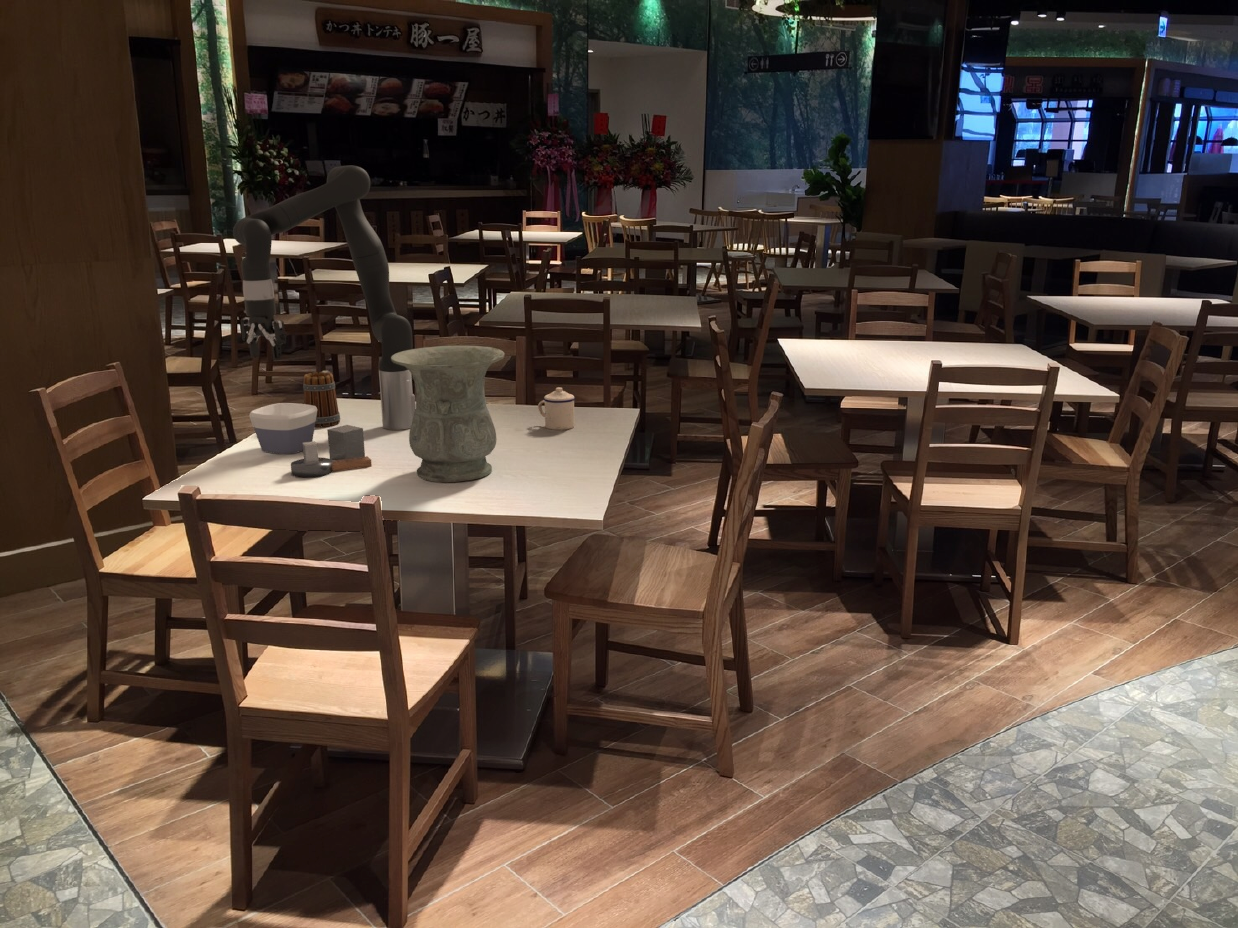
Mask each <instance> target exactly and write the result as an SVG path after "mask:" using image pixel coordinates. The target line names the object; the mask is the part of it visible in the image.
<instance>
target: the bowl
mask: <svg viewBox="0 0 1238 928" xmlns="http://www.w3.org/2000/svg"><path fill="white" fill-rule="evenodd" d="M317 410H318V409H317V408H316V406H313V405H307V404H304V403H295V402H294V403H293V402H291V403H289V402H281V403H280V402H278V403H274V404H273V403H272V404H268V405H264V406H262V407H258V408H255V409H253V410H251V411H250V412H249V419H250V422H251V425H252V428H253V430H254V433H255V435H256V438H257V440H258V443H259V446H260V449H261V451H262V452H264V453H270V454H276V455H293V454H296V453H300V452H303V444H302V443H305V442H313V441H314V434H315V421H316V416H317Z"/></svg>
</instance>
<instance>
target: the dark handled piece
mask: <svg viewBox="0 0 1238 928" xmlns="http://www.w3.org/2000/svg"><path fill="white" fill-rule="evenodd" d="M302 444H303V451H302V453H303V454H302V455H303V458H300V459H297V460H294V461H292V462H290V472H291V473H290V474H291V476H292V475H293V477H294V476H295V478H300V479H312V478H321V477H325V476H328V475H331V474H332V473H333V472H339V471H345V470H347V471H349V470H354V469H360V468H361V469H362V468H363V469H364V468H369V467H372V459H371V458H370V457H369V456H368V455H365V457H358V458H350V459H343V460H332V459H330V458H329V457H328V458H326V457H321V456H320V457H319V448H318V443H317V442H316V441H314V440H312V442H305V443H302Z"/></svg>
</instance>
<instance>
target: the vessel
mask: <svg viewBox="0 0 1238 928" xmlns="http://www.w3.org/2000/svg"><path fill="white" fill-rule="evenodd" d="M504 358H505V352H504V351H503V350H502V349H499V348H496V347H490V346H481V345H480V346H479V345H439V346H430V347H429V346H425V347H419V348H413V349H412V350H406V351H402V352H399V353H396V354H394V355H393V356H392V357H391V360H392V362H393V363H395V364H399V365H403V366H405V367H406V368H407V369H408V370H409V371H410V372H411V376H412V380H413V381H414V387H415V391H416V393H415V395H416V396H415V407H416V410H415V413H414V417H413V421H412V425H411V428H409V434H408V442H409V447H410V449H411V451H412V453H413V454H414V455H415V456H416V457H418V458H420V459H421V460H422V461H421V462H420V463H421V464H420V466H418V468H417V469H416V474H417V476H418V478H421V480H422V479H423V480H424V481H429V482H433V483H454V482H455V483H457V482H466V481H472V480H478V479H480V478H481V479H482V478H484V477H486V476H488V475H489V474H491V473H492V472H493V471H492V470H493V467H492V465H491V464H490V463H489V462H488V461H487V457H486V456H488V455H491V453H492V452H493V451H494V450H495V447H496V445H497V440H498V439H497V432H496V428H495V424H494V422H493V419H492V417H491V413H490V411H489V409H488V406H487V400H486V395H485V376H486V374H487V371H488V369H489V368H490V366H491V365H493V363H496V362H500V361H502V360H503V359H504Z"/></svg>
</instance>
